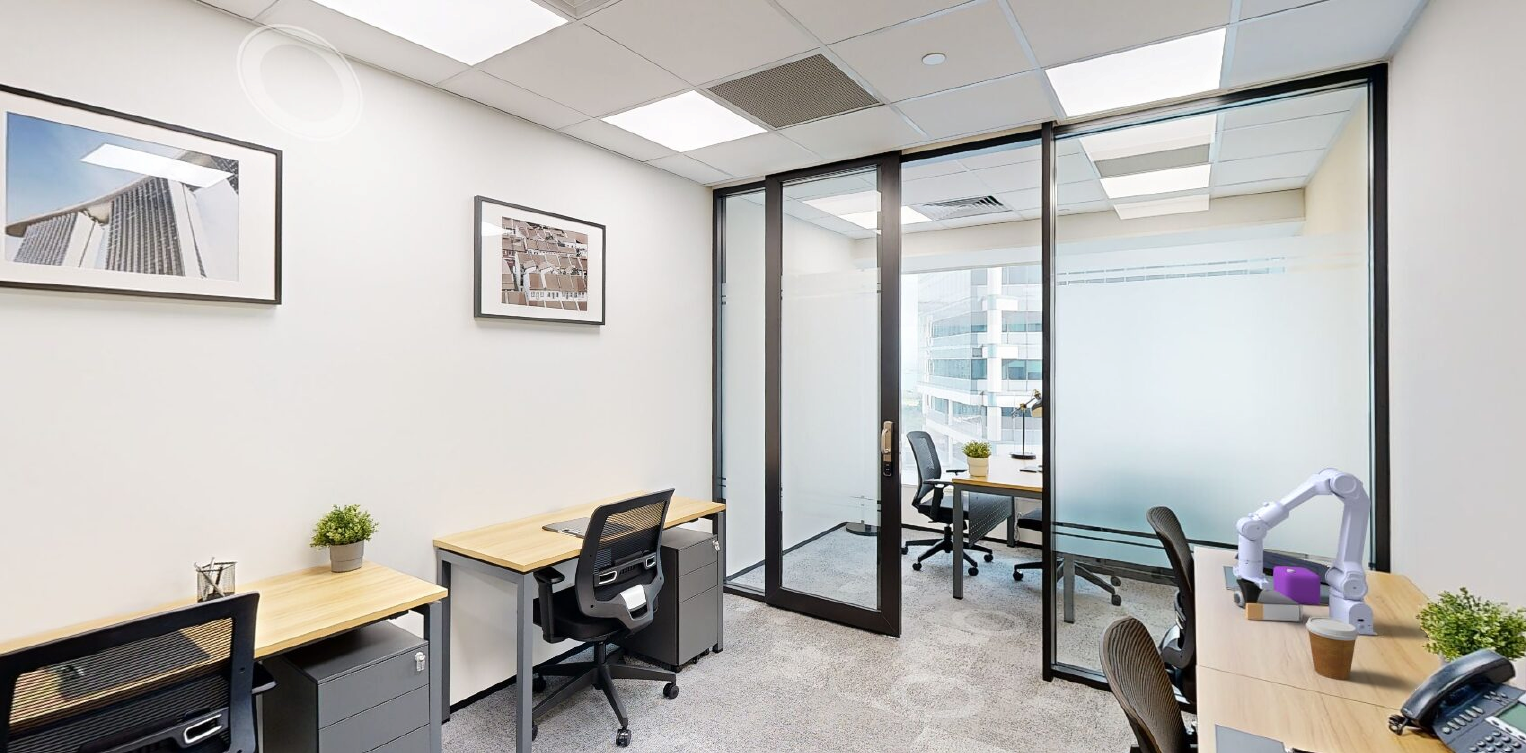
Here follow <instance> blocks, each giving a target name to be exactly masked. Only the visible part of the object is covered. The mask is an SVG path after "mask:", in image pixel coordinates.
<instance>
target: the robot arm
mask: <svg viewBox="0 0 1526 753" xmlns="http://www.w3.org/2000/svg"><path fill="white" fill-rule="evenodd" d="M1363 485H1364V483H1363V481H1361V480H1360V479H1359V478H1358V477H1356V476H1355V475H1353V474H1352V473H1348V472H1344V471H1342V470H1339V469H1337V468H1334V467H1333V468H1332V467H1326V468H1322V469H1321V470H1319V471H1318V473H1314V474H1312V475H1311V476H1309V478H1307V480H1306V481H1304V482H1303V483H1302V484H1301V485H1299V486H1298V487H1296V488H1295V489H1293V490H1292V491H1291V492H1289V493H1288V494H1287V495H1286V496H1284V497H1283V498H1281V499H1280V500H1279V501H1273V500H1272V501H1269V502H1267V501H1265V502H1263V503H1262V506H1261V507H1260V508H1258V509H1256V511H1254V512H1250V513H1247V516H1246V517H1245V516H1244V517H1241V518H1240V519H1238V520H1237V523H1236V524H1235V525H1234V528H1235V531H1236V532H1237V533H1238V543H1237V544H1238V547H1237V550H1238V551H1237V552H1238V553H1237V554H1238V559H1237V560H1238V564H1237V565H1238V566H1232V573H1233V576H1235V577H1237V579H1236V584H1238V585H1237V586H1239V587H1240V589H1241V591H1242V594H1243V598H1244V602H1245V605H1246V603H1257V600H1258V597H1259V595H1260V593H1261V592H1262V590H1263V589H1269V587H1270V582H1269V581H1267V580H1266V578H1265V576H1264V572H1263V569H1264V567H1263V551H1264V545H1263V539H1265V538H1266V537H1267V534H1268V531H1270V530H1272V529H1273V528H1275V527H1276V526H1277V525H1279V524H1280V523H1282V522H1283V521H1285V520H1286V519H1288V518H1289V515H1290V512H1291V510H1293V509H1295V508H1297V507H1298V506H1300V505H1302V504H1304V503H1305V502H1307V501H1309V500H1311V499H1312V498H1313V497H1316V496H1333V495H1334V496H1336V497H1337V498H1338V500H1340V501H1341V503H1343V511H1342V517H1341V524H1340V530H1339V536H1338V537H1339V539H1338V545H1337V551H1336V557H1335V558H1334V559H1333V560H1331V562H1330V566H1331V567H1330V568H1329V570H1328V571H1327V572H1326V574H1325V579H1326V582H1327V583H1326V584H1328V586H1330V587H1329V589H1328V598H1329V600H1328V601H1329V602H1328V609H1329V610H1328V612H1329V613H1328V614H1329V615H1328V618H1331V619H1336V620H1340V621H1343V622H1347V623H1349V624H1351V625H1353V626H1354V627H1355V628H1356V631H1357V632H1358V634H1359V635H1371V636H1373V635H1375V636H1377V632H1376V631H1374V612H1373V610H1372V608H1371V606H1369V605H1368V604H1367V603H1366V602H1365V597H1366V596H1367V595H1368V593H1369V584H1368V583H1367V581H1366V578H1367V574H1366V571H1365V569H1364V567H1363V557H1364V551H1365V545H1366V538H1367V531H1368V525H1369V518H1370V512H1371V504H1372V503H1371V502H1372V501H1371V499H1370V497H1369V496H1368V494H1367V492H1366V490H1365V488H1364V487H1363ZM1240 578H1241V579H1240Z"/></svg>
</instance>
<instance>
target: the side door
mask: <svg viewBox="0 0 1526 753" xmlns="http://www.w3.org/2000/svg"><path fill="white" fill-rule="evenodd" d="M1245 617H1246V619H1247V620H1259V621H1260V620H1261V621H1263V620H1264V621H1284V622H1287V621H1288V622H1300V621H1299V606H1298V605H1284V604H1259V603H1246V609H1245Z"/></svg>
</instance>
